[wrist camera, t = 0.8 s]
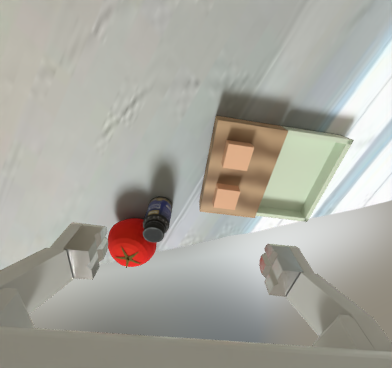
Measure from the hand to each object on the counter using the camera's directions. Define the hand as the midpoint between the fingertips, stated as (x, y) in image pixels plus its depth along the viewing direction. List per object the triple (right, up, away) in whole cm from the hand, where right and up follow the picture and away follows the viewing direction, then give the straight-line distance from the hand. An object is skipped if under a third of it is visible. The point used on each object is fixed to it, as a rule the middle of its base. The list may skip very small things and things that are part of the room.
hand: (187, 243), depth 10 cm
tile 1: (+9, +9, +30) cm, 32 cm away
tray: (+24, +5, +37) cm, 45 cm away
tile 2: (+7, +1, +35) cm, 35 cm away
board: (+10, +7, +36) cm, 38 cm away
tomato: (-16, -10, +46) cm, 50 cm away
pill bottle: (-9, -3, +42) cm, 43 cm away
